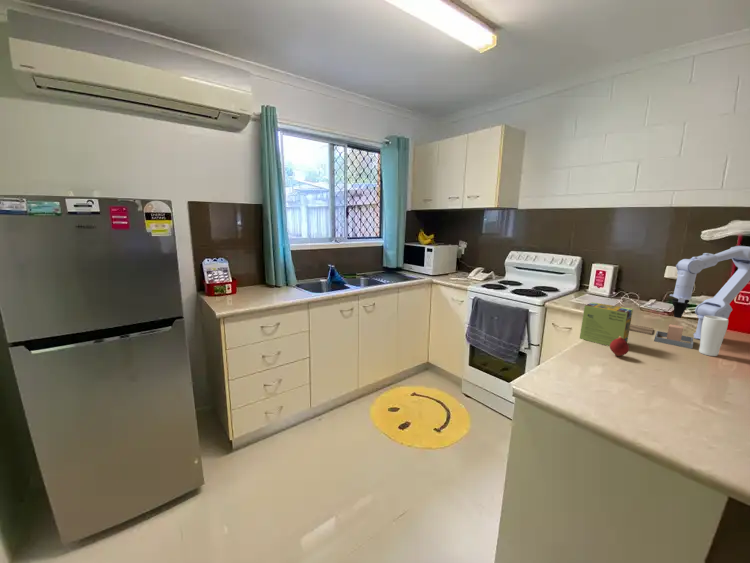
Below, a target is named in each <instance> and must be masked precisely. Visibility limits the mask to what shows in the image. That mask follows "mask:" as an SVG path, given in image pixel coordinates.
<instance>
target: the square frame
mask: <svg viewBox="0 0 750 563" xmlns="http://www.w3.org/2000/svg"><path fill="white" fill-rule="evenodd" d="M667 334H668V332H666V331H662V330H657V331H656V332H655V336H654V340H653V342H658V343H662V344H666V345H667V344H668V345H671V346H676V347H681V348H686V349H693V347H694V336H693V337H692V336H689V335H682V337H681V342H680V341H675V340H670V339H667ZM659 336H660V337H659ZM664 337H665V338H664ZM689 342H690V343H689Z"/></svg>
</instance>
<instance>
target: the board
mask: <svg viewBox="0 0 750 563" xmlns="http://www.w3.org/2000/svg"><path fill="white" fill-rule="evenodd" d="M654 330H655V328H654V327H647V326H641V325H638V324H631V323H630V329H629V332H636V333H641V334H647V335H651V336H652V335H653V333H654Z"/></svg>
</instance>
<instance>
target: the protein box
mask: <svg viewBox="0 0 750 563" xmlns="http://www.w3.org/2000/svg"><path fill="white" fill-rule="evenodd" d="M633 311H634V308H630V307H629V308H628V307H623V306H617V305H612V304H605V303H599V302H590V303H587V304H585V305H584V307H583V313H582V320H581V326H580V327H581V328H580V333H579V339H580V340H583V341H587V342H591V343H595V342H596V343H595V344H599V343H600V344H599V345H603V344H604V345H603V346H607V345H608V347H610V343H611V342H612V341H613V340H615V339H617V338H619V336H621V337H622V338H623V339H624V340H625V341H626V342H627V343H628V341H629V334H630V330H629V329H630V324H631V323H632V316H633Z"/></svg>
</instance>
